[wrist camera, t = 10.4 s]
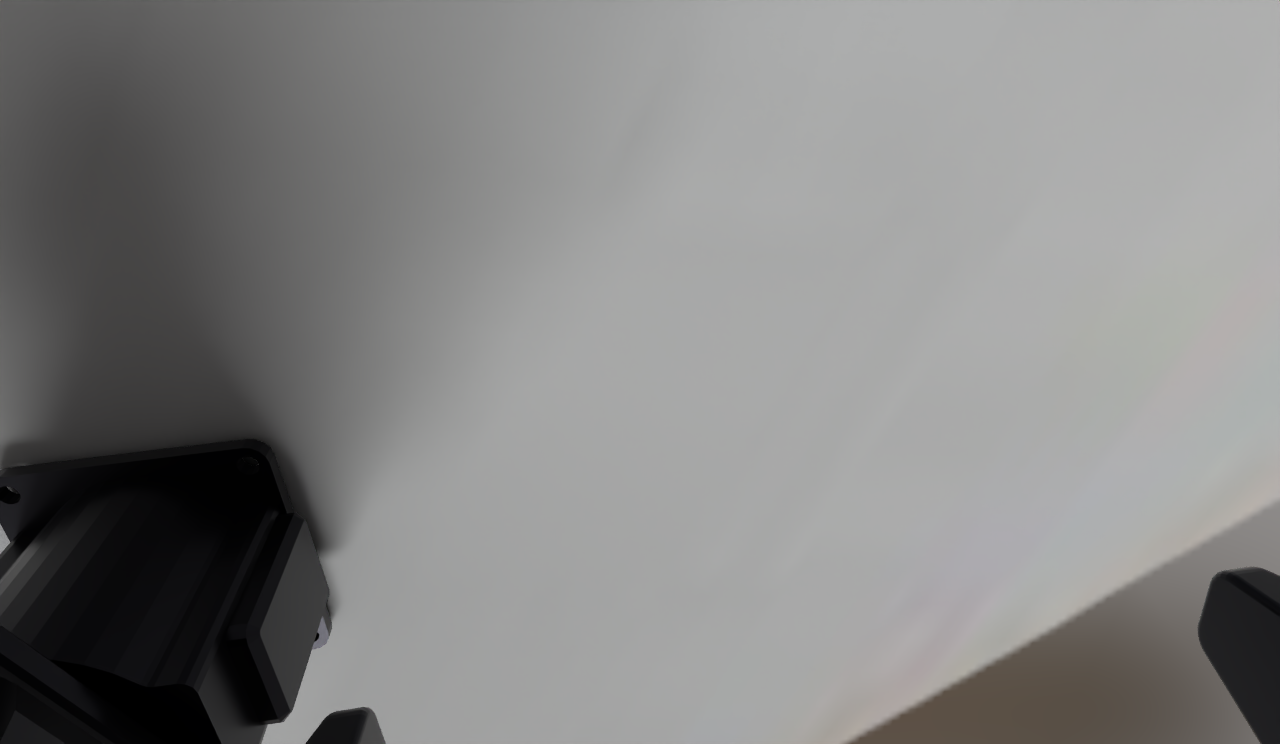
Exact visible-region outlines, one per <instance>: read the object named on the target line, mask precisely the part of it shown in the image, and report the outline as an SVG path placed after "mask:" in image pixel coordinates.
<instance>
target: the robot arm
mask: <svg viewBox="0 0 1280 744" xmlns="http://www.w3.org/2000/svg"><path fill="white" fill-rule="evenodd" d="M243 457H251V458H253V459H255V460H257V462H258V463H259V465H250V464H248V463H246V462H245V461H244V460H243ZM6 486H7V487H12V488H14V489H16V490H17V491H18V492H19V493H20V494H16V493H14V492H11V491H10V490H9V489H8V488H7V487H6ZM0 524H1V526H2V528H3V529H4V531H5V533H6V535H7V537H8V539H9V540H10V542H11V543H10V544H9V545H8V546H7V547H6V548H5V550H4V551H3V552H2V553H1V554H0V744H261V742H262V740H263V737H264V734H265V731H266V728H267V725H268V724H273V723H280V722H284V721H285V719H286V718H287V717H288V716H289V714H290V713H291V712H292V710H293V707H294V704H295V701H296V698H297V695H298V691H299V688H300V685H301V682H302V679H303V676H304V672H305V669H306V666H307V663H308V660H309V657H310V654H311V650H312V649H316V648H320V647H322V646H323V645H325V644H326V643H327V641H328V639H329V636H330V632H331V629H332V622H331V619H330V616H329V613H328V610H327V607H326V603H327V600H328V597H329V588H328V585H327V582H326V579H325V576H324V573H323V570H322V567H321V564H320V561H319V558H318V555H317V552H316V549H315V546H314V543H313V540H312V537H311V534H310V531H309V528H308V525H307V522H306V520H305V519H304V518H303V517H302V516H300V515H299V514H298V513H296V512H295V513H294V510H293V507H292V504H291V501H290V499H289V496H288V493H287V490H286V487H285V484H284V481H283V478H282V475H281V472H280V469H279V466H278V463H277V460H276V457H275V455H274V453H273V451H272V449H271V448H270V447H269V446H268V445H267V444H265V443H264V442H261V441H259V440H256V439H243V440H235V441H227V442H218V443H210V444H202V445H194V446H185V447H177V448H169V449H161V450H152V451H144V452H136V453H128V454H119V455H111V456H103V457H95V458H86V459H78V460H70V461H62V462H53V463H45V464H37V465H29V466H20V467H12V468H7V469H3V470H1V471H0ZM1198 637H1199V641H1200V644H1201V646H1202V649H1203V651H1204V652H1205V654H1206V656H1207V657H1208V659H1209V661H1210V662H1211V664H1212V666H1213V667H1214V669H1215V670H1216V672H1217V673H1218V675H1219V677H1220V679H1221V680H1222V682H1223V683H1224V685H1225V686H1226V688H1227V690H1228V691H1229V693H1230V695H1231V696H1232V698H1233V700H1234V701H1235V703H1236V705H1237V706H1238V708H1239V709H1240V711H1241V713H1242V714H1243V716H1244V718H1245V719H1246V721H1247V722H1248V724H1249V726H1250V727H1251V729H1252V731H1253V732H1254V734H1255V735H1256V737H1257V739H1258V740H1259V742H1260V744H1280V576H1279V575H1276V574H1274V573H1272V572H1270V571H1268V570H1265V569H1262V568H1258V567H1244V568H1238V569H1231V570H1226V571H1221V572H1218V573H1217V574H1216V575H1215V576H1214V577H1213V578H1212V580H1211V582H1210V585H1209V589H1208V592H1207V596H1206V599H1205V603H1204V606H1203V609H1202V613H1201V616H1200V620H1199V623H1198ZM306 744H386V743H385V740H384V737H383V735H382V732H381V729H380V726H379V723H378V721H377V718H376V715H375V713H374V712H373V711H372V710H371V709H370V708H368V707H361V708H355V709H348V710H342V711H336V712H333V713H331V714H330V715H328V716H327V717H326V718H325V719H324V720H323V721H322V723H321V724H320V725H319V727H318V728H317V729H316V731H315V732H314V733H313V735H312V736H311V737H310V738H309V740H308V741H307V742H306Z"/></svg>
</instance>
